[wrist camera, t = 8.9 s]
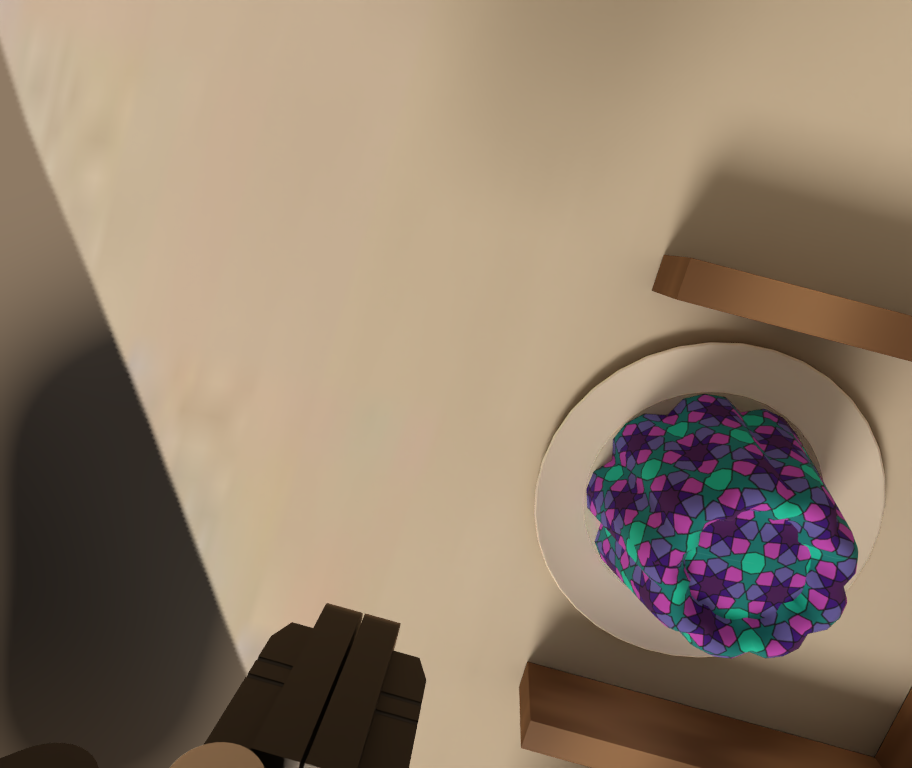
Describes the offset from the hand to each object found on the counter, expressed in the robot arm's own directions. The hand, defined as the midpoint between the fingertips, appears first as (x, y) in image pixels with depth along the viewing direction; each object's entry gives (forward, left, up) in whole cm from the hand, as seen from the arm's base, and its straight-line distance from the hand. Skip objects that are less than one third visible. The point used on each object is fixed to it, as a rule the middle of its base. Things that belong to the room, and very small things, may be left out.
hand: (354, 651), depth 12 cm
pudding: (-10, -1, -11) cm, 15 cm away
